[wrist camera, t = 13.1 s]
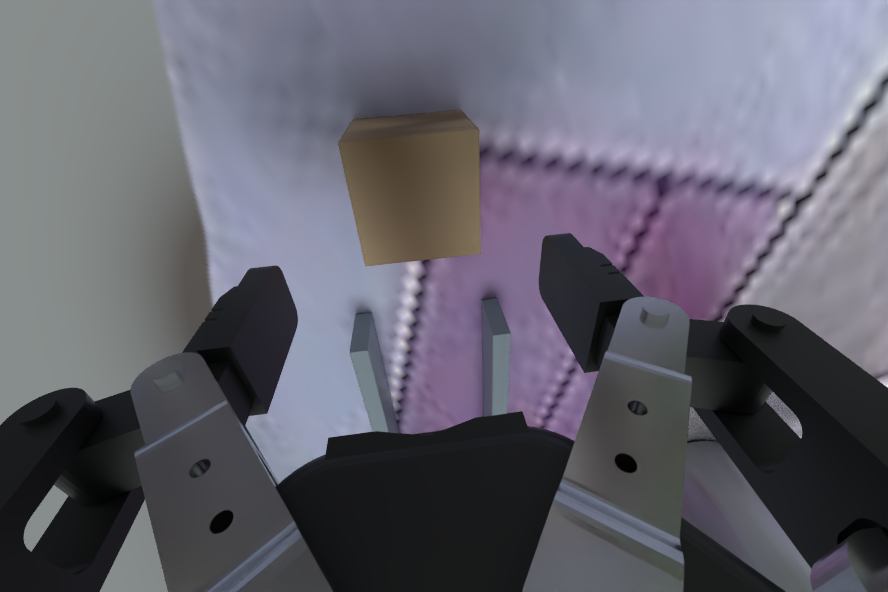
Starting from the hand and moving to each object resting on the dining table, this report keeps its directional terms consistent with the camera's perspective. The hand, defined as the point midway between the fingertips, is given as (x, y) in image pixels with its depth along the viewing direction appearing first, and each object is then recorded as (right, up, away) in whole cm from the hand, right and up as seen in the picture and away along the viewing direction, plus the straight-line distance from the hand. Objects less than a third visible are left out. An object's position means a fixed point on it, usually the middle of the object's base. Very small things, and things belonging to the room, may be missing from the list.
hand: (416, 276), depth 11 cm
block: (-1, +6, +7) cm, 9 cm away
